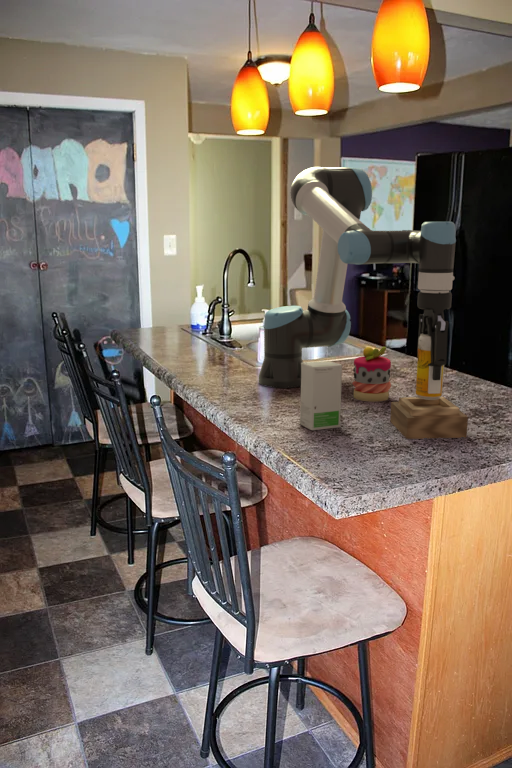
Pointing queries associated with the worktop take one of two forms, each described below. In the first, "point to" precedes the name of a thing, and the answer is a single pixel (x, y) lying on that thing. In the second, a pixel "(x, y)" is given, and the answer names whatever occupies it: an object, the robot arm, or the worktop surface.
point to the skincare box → (320, 395)
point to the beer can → (425, 369)
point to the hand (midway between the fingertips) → (429, 389)
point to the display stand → (428, 418)
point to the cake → (372, 376)
